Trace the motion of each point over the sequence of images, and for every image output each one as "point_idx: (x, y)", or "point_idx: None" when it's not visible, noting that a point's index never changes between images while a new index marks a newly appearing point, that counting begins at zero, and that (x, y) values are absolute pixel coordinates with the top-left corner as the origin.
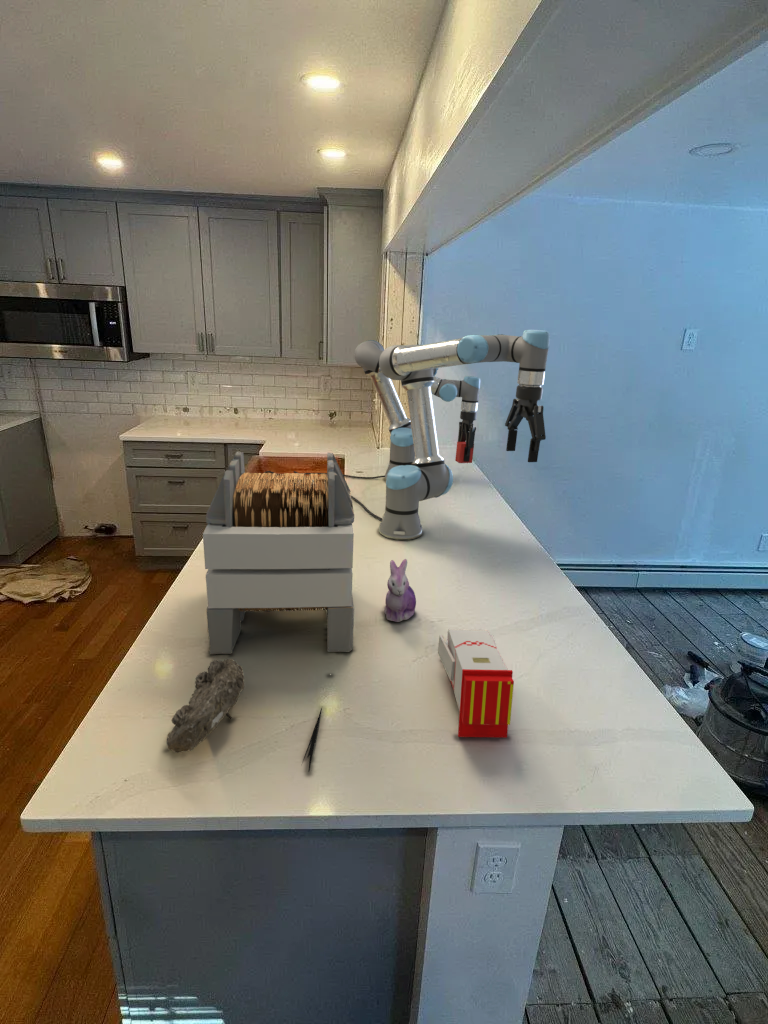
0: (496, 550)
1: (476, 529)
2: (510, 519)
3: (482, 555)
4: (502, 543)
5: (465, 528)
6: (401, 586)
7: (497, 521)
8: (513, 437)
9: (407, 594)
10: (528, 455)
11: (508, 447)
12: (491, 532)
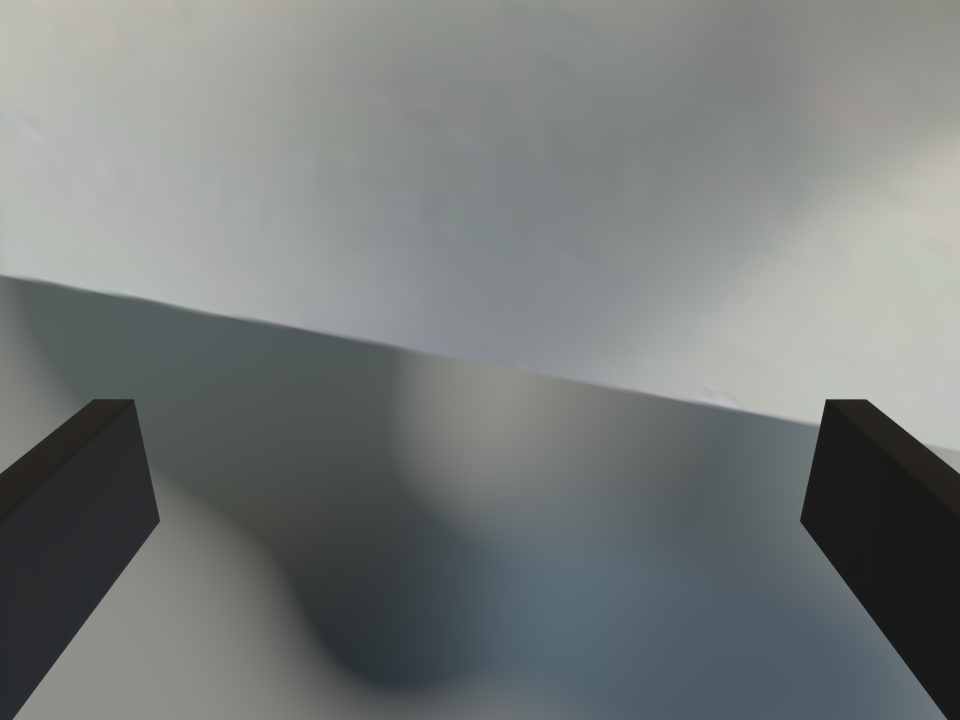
0: (576, 183)
1: (859, 203)
2: None
3: (534, 76)
4: (647, 255)
5: (896, 146)
6: None
7: (913, 364)
8: (957, 645)
9: None
10: (75, 450)
11: (854, 442)
12: (793, 265)
